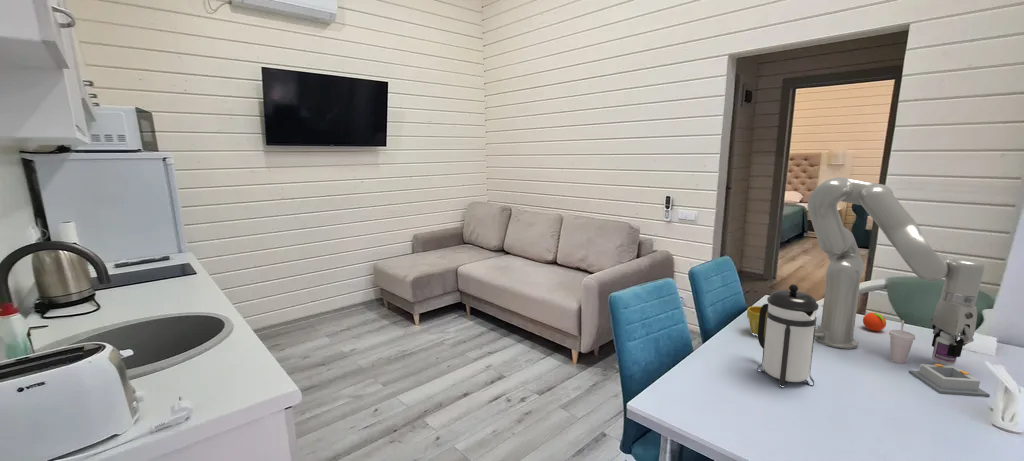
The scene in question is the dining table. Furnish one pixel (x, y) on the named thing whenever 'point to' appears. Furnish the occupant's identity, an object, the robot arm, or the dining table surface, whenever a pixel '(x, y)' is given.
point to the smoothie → (900, 344)
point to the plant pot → (754, 318)
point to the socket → (949, 380)
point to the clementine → (874, 321)
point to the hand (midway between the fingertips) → (945, 351)
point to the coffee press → (788, 334)
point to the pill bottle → (943, 349)
